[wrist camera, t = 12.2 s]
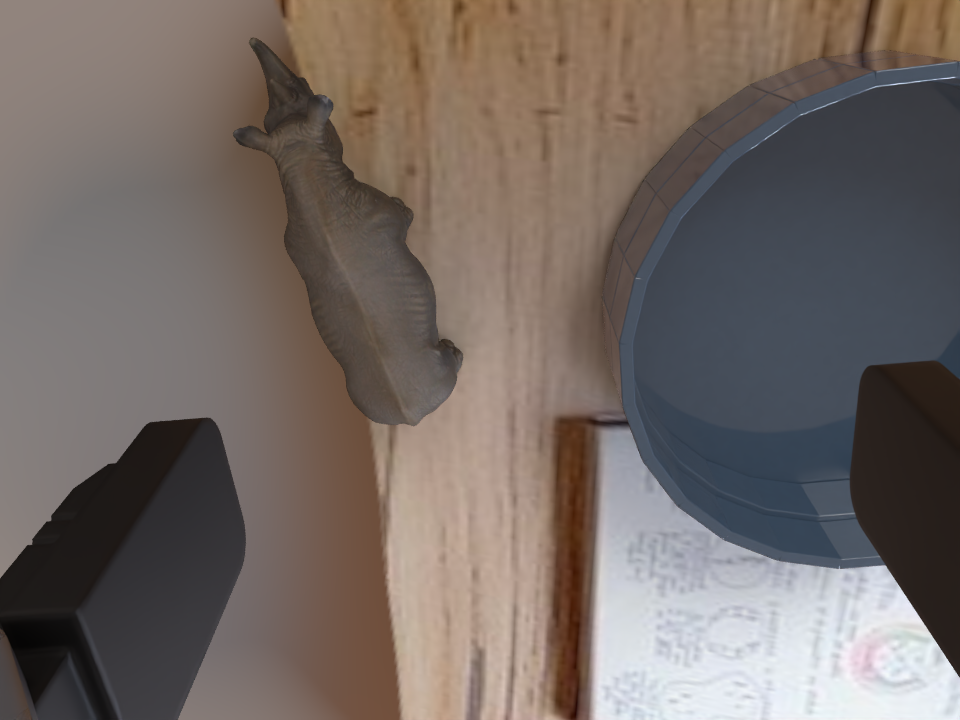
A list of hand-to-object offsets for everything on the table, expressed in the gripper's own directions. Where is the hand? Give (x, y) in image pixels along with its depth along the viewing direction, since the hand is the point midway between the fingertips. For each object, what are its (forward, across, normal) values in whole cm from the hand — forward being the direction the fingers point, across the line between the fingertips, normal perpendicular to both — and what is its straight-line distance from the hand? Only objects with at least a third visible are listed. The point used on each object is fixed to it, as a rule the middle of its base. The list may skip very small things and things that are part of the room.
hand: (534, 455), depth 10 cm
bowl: (+20, -12, +7) cm, 24 cm away
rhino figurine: (+21, +6, +2) cm, 22 cm away
